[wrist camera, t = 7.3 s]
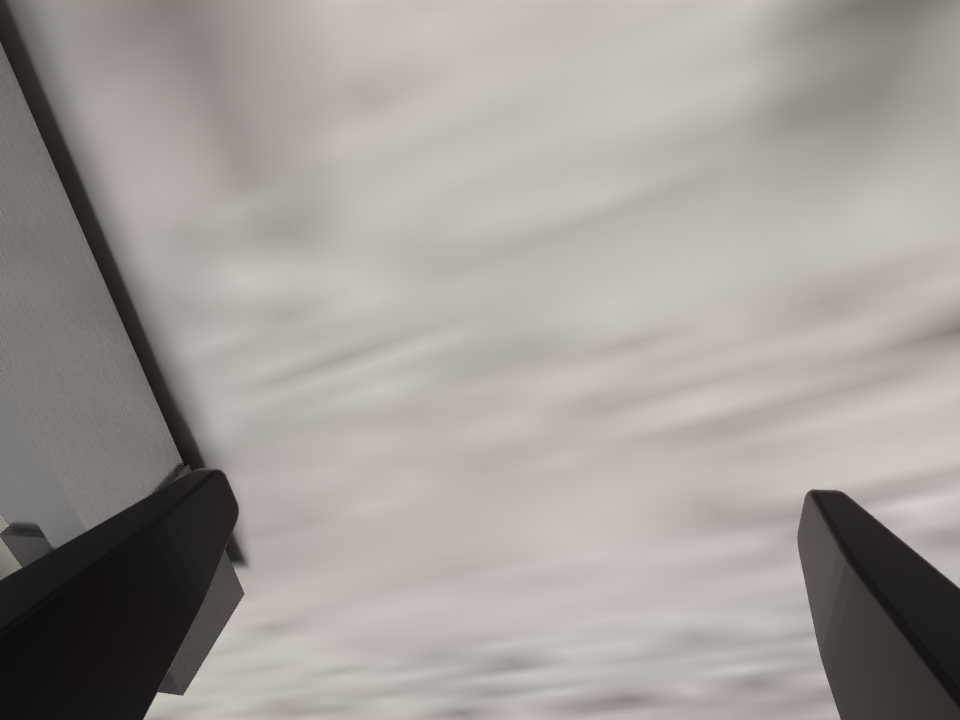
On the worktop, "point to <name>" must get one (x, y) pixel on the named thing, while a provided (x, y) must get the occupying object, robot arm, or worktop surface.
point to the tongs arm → (76, 375)
